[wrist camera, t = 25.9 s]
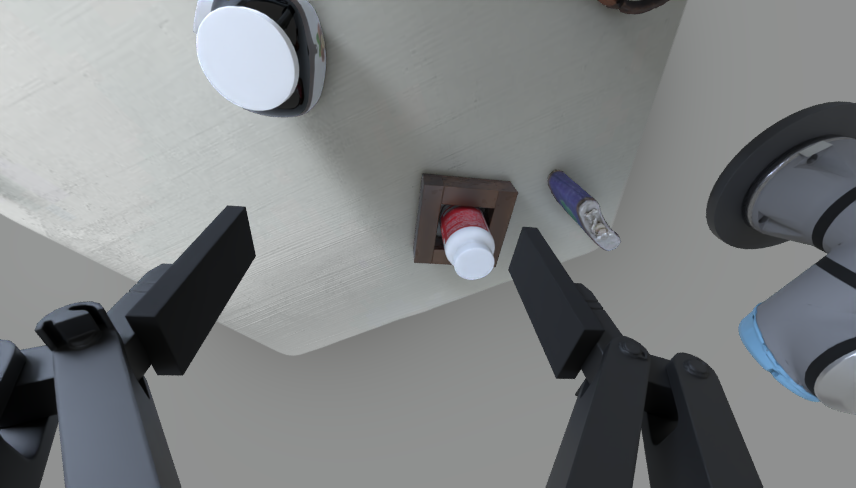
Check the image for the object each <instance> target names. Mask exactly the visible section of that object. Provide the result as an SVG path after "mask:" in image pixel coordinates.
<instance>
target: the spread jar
mask: <svg viewBox="0 0 856 488" xmlns="http://www.w3.org/2000/svg"><path fill="white" fill-rule="evenodd" d="M193 32H194V33H196V34H197V40H196V48H197V56H198V59H199V62H200V65H201V68H202V70H203V72H204V74H205V76H206V77H207V79H208V80H209V82H210V83H211V84H212V86H213V87H214V88H215V89H216V90H217V91H218V92H219V93H220V94H221V95H222V96H223V97H225V98H226V99H227V100H229V101H230V102H232V103H234V104H235V105H237V106H240V107H242V108H244V109H246V110H248V111H251V112H253V113H257V114H260V115H265V116H271V117H296V116H300V115H303V114H305V113H307V112H308V111H309V110H310V109H311V108H312V107H313V106H314V105H315V104H316V103H317V101H318V100H319V98H320V95H321V92H322V89H323V85H324V79H325V71H326V49H325V42H324V37H323V32H322V28H321V24H320V21H319V18H318V16H317V13H316V12H315V10H314V8H313V6H312V5H311V4H310V3H309V2H308V1H307V0H198V3H197V8H196V13H195V19H194V27H193Z"/></svg>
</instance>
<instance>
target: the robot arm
mask: <svg viewBox="0 0 856 488" xmlns="http://www.w3.org/2000/svg"><path fill="white" fill-rule="evenodd" d="M741 213H742V217H743V220H744V221H745V223H746V224H747V225H748V226H750V227H752V228H754V229H755V230H757V231H759V232H760V233H763V234H766V235H770V236H774V237H778V238H782V239H787V240H791V241H795V242H800V243H803V244H808V245H812V246H814V247H816V248H818V249H820V250H822V251H824V252H825V253H827V255H826V256H825V257H823V258H822V259H821V260H819V261H818V262H817V263H815V264H814V265H813V266H811V267H810V268H809V269H807V270H806V271H804V272H803V273H802V274H801V275H799V276H798V277H797V278H795V279H794V280H792V281H791V282H790V283H788V284H787V285H786V286H784V287H783V288H782V289H780V290H779V291H778V292H776V293H775V294H774V295H772V296H771V297H769V298H768V299H767V300H766V301H764V302H762V303H759V304H758V305H757V306H756V307H755V308H754V310H753V311H752V312H751V313H750V314H748V315H747V316H746V317H745V318H744V319H743V320H742V321H741V323H740V324H739V335H740V337H741V340H742V342H743V344H744V345H745V347H746V348H747V350H748V351H749V352H750V354H751V355H752V356H753V357H754V359H755V360H756V361H757V362H758V363H759V364H760V365H761V366H762V367H763V368H764V369H765V370H767V371H769V372H770V373H771V374H772V375H773V377H774V378H775V379H776V380H777V381H778V382H779V383H781V384H782V385H783V386H785V387H786V388H787V389H789V390H790V391H792V392H793V393H795V394H796V395H798V396H800V397H802V398H804V399H807V400H810V401H814V402H819V401H821V402H822V403H823V404H824V405H826V406H827V407H829V408H831V409H834V410H837V411H840V412H844V413H849V414H854V415H856V139H854V138H850V137H846V136H842V135H824V136H819V137H816V138H813V139H810V140H807V141H805V142H802V143H800V144H798V145H796V146H794V147H793V148H791V149H789V150H788V151H786V152H785V153H783V154H782V155H780V156H779V157H777V158H776V159H775V160H774V161H772V162H771V163H770V164H769V165H768V166H767V167H766V168H765V169H764V170H763V171H762V172H761V173H760V174H759V175H758V176H757V177H756V179H755V180H754V181H753V183H752V184H751V186H750V187H749V189H748V191H747V192H746V195H745V197H744V199H743V203H742V208H741ZM255 257H256V254H255V250H254V245H253V240H252V235H251V230H250V226H249V221H248V216H247V211H246V207H241V206H226V208H225V209H224V210H223V211H222V212H221V213H220V214H219V215H218V216H217V217H216V218H215V219H214V220H213V222H212V223H211V224H210V225H209V226H208V227H207V228H206V229H205V230H204V231H203V232H202V233H201V234H200V236H199V237H198V238H197V239H196V240H195V241H194V242H193V243H192V244H191V245H190V246H189V247H188V248H187V249H186V251H185V252H184V253H183V254H182V255H181V256H180V257H179V258H178V259H177V260H176V261H175V262H174V263H173V264H161V265H159V266H157V267H156V268H154V269H152V270H150V271H149V272H147V273H146V274H145V275H144V276H143V277H142V278H141V279H140V280H139V281H138V282H137V284H135V285H134V286H133V287H132V288H131V289H130V290H129V293H126V294H125V295H124V296H123V297H122V298H121V299H120V300H119V301H118V302H117V303H116V304H115V305H114V306H113V307H112V308H111V309H110V310H109V311H108V312H107V313H106V311H105V310H104V308H103V307H102V306H101V305H100V304H99V303H95V302H79V303H74V304H70V305H67V306H64V307H61V308H59V309H56V310H54V311H53V312H51V313H50V314H48V315H46V316H45V317H44V318H43V319H42V320H40V322H38V323H37V326H36V328H35V332H36V333H37V334H38V335H39V337H40V338H41V339H42V340H43V342H44V343H45V344H46V345H45V346H40V347H34V348H29V349H23V350H19V349H18V347H17V346H16V345H15V344H14V343H12V342H11V341H9V340H1V339H0V488H39V487H40V483H41V480H42V477H43V473H44V470H45V466H46V463H47V460H48V456H49V453H50V449H51V445H52V442H53V439H54V435H55V432H56V428H57V425H58V422H59V431H60V441H61V451H62V461H63V470H64V480H65V488H181V484H180V481H179V478H178V475H177V472H176V469H175V466H174V463H173V460H172V457H171V454H170V451H169V448H168V445H167V442H166V438H165V435H164V432H163V429H162V426H161V423H160V420H159V417H158V414H157V410H156V407H155V404H154V401H153V398H152V395H151V392H150V389H149V386H148V383H147V380H146V378H145V377H144V374H145V372H146V371H147V370H148V368H149V367H150V365H151V364H152V366H153V368H154V370H155V372H156V373H157V375H183V374H184V373H185V371H186V370H187V368H188V366H189V365H190V363H191V362H192V360H193V358H194V357H195V355H196V353H197V351H198V350H199V348H200V347H201V345H202V343H203V342H204V340H205V339H206V337H207V335H208V334H209V332H210V330H211V329H212V327H213V325H214V324H215V322H216V321H217V319H218V317H219V316H220V314H221V312H222V311H223V309H224V307H225V306H226V304H227V302H228V301H229V299H230V298H231V296H232V294H233V293H234V291H235V289H236V288H237V286H238V284H239V283H240V281H241V280H242V278H243V276H244V275H245V273H246V271H247V270H248V268H249V266H250V265H251V263H252V261H253V260H254V258H255ZM508 270H509V272H510V274H511V277H512V279H513V281H514V284H515V285H516V288H517V290H518V293H519V295H520V297H521V299H522V302H523V304H524V306H525V309H526V311H527V313H528V315H529V318H530V320H531V322H532V324H533V327H534V329H535V331H536V334H537V336H538V338H539V340H540V343H541V345H542V347H543V349H544V352H545V354H546V356H547V358H548V361H549V363H550V365H551V368H552V370H553V372H554V374H555V377H556V378H557V379H575V378H576V376H577V375H578V373H579V372H580V370H581V369H582V371H583V373H584V375H585V377H586V379H585V380H584V382H583V383H582V385H581V386H580V388H579V389H578V391H577V392H576V394H575V395H576V396H578V397H577V400H576V403H575V406H574V409H573V412H572V414H571V417H570V420H569V423H568V426H567V428H566V432H565V434H564V437H563V440H562V443H561V445H560V448H559V451H558V454H557V457H556V460H555V462H554V465H553V468H552V471H551V474H550V476H549V479H548V482H547V485H546V488H632V486H633V480H634V473H635V466H636V460H637V453H638V446H639V439H640V432H641V429H642V436H643V442H644V449H645V455H646V462H647V468H648V474H649V480H650V487H651V488H763V485H762V483H761V480H760V478H759V476H758V474H757V471H756V469H755V466H754V464H753V461H752V459H751V456H750V454H749V451H748V449H747V447H746V444H745V442H744V439H743V437H742V434H741V432H740V430H739V427H738V425H737V422H736V420H735V418H734V415H733V413H732V410H731V408H730V405H729V403H728V401H727V398H726V396H725V393H724V391H723V388H722V386H721V384H720V381H719V379H718V376H717V375H716V373H715V372H714V370H713V369H712V368H711V367H710V366H709V365H708V364H707V363H705V362H704V361H702V360H701V359H699V358H698V357H695V356H693V355H691V354H687V353H677V354H676V355H675V356H674V357H673V358H672V359H671V360H667V359H664V358H660V357H656V356H653V355H650V354H649V353H648V351H647V350H646V349H645V348H644V347H643V346H642V345H641V344H640V343H638V342H637V341H635V340H633V339H631V338H629V337H626V336H623V335H622V334H621V333H620V331H619V330H618V328H617V327H616V326H615V324H614V323H613V321H612V320H611V318H610V317H609V316H608V314H607V313H606V311H605V310H603V307H602V306H601V304H600V303H598V300H597V299H596V297H595V296H594V295H593V293H592V292H591V291H590V290H589V289H587V288H586V287H585V286H584V285H583V284H581V283H573V281H572V280H571V278H570V277H569V275H568V274H567V272H566V271H565V269H564V268H563V266H562V265H561V263H560V262H559V260H558V259H557V257H556V256H555V254H554V253H553V251H552V250H551V248H550V247H549V245H548V244H547V242H546V241H545V239H544V238H543V236H542V235H541V233H540V232H539V230H538V229H537V228H532V227H522V230H521V233H520V236H519V239H518V242H517V245H516V248H515V251H514V254H513V257H512V260H511V263H510V266H509V269H508Z"/></svg>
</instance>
